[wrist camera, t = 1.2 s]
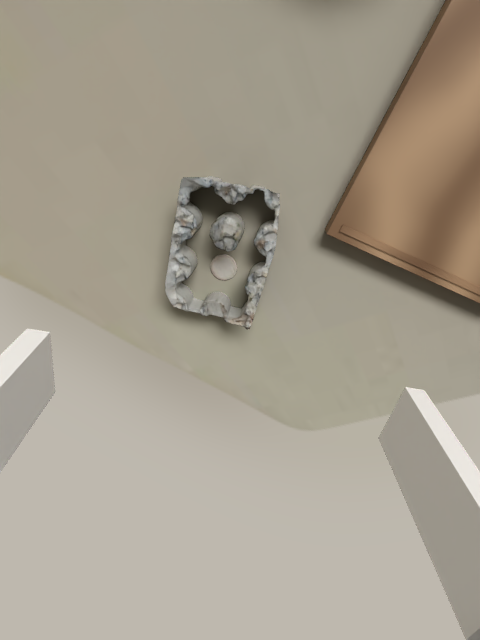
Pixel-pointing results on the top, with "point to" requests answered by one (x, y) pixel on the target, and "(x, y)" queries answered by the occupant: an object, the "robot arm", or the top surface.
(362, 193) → the walnut board
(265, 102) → the top surface
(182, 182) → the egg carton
